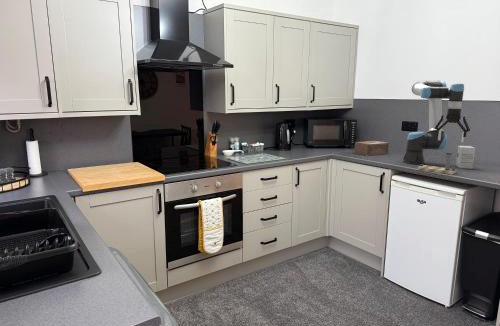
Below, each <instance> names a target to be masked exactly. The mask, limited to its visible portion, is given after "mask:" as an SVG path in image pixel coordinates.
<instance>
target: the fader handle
mask: <svg viewBox="0 0 500 326" xmlns="http://www.w3.org/2000/svg"><path fill="white" fill-rule="evenodd" d="M445 153H446V156H445V166H444V168H445V169H447V170H450V169H452V168H451V166H452V160H453V152H452V151H448V152H445Z"/></svg>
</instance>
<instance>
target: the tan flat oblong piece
mask: <svg viewBox="0 0 500 326" xmlns="http://www.w3.org/2000/svg"><path fill="white" fill-rule="evenodd" d="M417 171H422V172H423V171H424V172H432V173H437V174H444V175H445V174H446V175H454V174H456V173H457V169H456V167H452V168H450V170H447V169H445V167H440V166H435V165H433V166H432V165H424V164H418V167H417Z"/></svg>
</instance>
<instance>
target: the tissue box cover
mask: <svg viewBox="0 0 500 326" xmlns="http://www.w3.org/2000/svg"><path fill="white" fill-rule="evenodd" d="M354 142H355V143H354V154H356V155H361V154H362V156H366V155H369V156H379V155H387V154H389V147H390V142H387V141H379V140H369V141H354Z"/></svg>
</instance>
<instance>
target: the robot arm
mask: <svg viewBox="0 0 500 326" xmlns="http://www.w3.org/2000/svg"><path fill="white" fill-rule="evenodd" d="M464 91H465V84H464V83H451V85H450V86H447V83H446V82H445V81H444V80H419V81H417V82H415V83H414V84H413V85H412V86H411V92H412V94H413V95H415V96H419V97H420V98H421V99H426V100H428V130H427V131H412V132H409V133H408V134H407V138H406V140H407V141H406V151H405V154H404V156H403V158H402V162H403V163H405V164H410V165H411V164H412V165H420V164H423V165H424V164H425V161H426V159H425V156H424V150H432V151H433V150H435V151H438V150H439V151H440V150H441V151H443V150H444V149H445V148H446V146H447V143H448V134H446V133H445V131H444V130H443V128H444V127H445V126H446V125H447V124H449V123H450V124H451V123H453V124H457V125H458V127H460V129H461V130H462V132H461V141H460V142H461V143H464V141H465V138H466V137H467V133H469V132H471V128H470V126H469V123H468V121H467V116H461V113H462V106H463V98H464ZM443 99H448V105H447V107H448V109H447V113H446V115H445V114H443V108H442V106H443V102H442V101H443ZM445 119H446V121H444V120H445ZM460 120H462V122H463V123H464V124H462V122H461V121H460ZM443 121H444V122H443Z"/></svg>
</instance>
